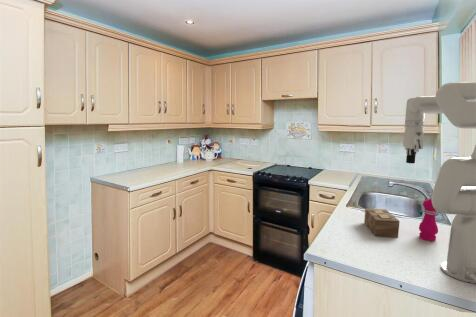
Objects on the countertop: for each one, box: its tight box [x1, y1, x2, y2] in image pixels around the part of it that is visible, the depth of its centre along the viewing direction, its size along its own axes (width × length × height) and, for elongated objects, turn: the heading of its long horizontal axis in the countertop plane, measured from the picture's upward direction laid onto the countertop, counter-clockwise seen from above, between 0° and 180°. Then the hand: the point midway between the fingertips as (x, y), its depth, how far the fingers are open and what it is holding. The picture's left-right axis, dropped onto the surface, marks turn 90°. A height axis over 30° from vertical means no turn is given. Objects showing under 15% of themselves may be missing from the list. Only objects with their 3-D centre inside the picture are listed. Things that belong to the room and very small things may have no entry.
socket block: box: [363, 208, 400, 238], centre depth 134 cm, size 16×10×8 cm, turn 172°
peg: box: [378, 215, 390, 219], centre depth 131 cm, size 4×4×8 cm
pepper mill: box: [418, 195, 439, 242], centre depth 124 cm, size 7×7×20 cm
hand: (410, 162), depth 132 cm, fingers closed
